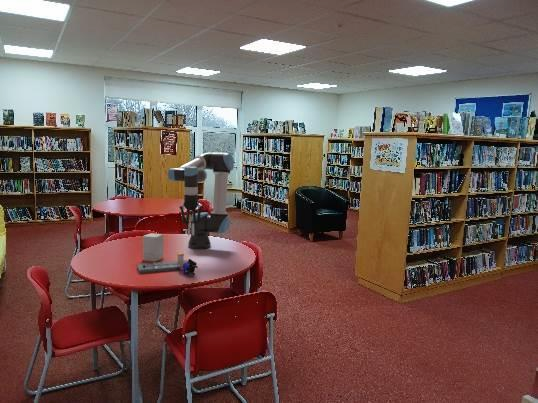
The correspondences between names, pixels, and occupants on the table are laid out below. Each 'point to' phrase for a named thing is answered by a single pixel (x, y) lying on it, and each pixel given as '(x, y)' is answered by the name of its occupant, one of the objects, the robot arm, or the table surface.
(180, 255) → the block
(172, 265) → the panel
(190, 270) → the character figurine
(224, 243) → the table surface
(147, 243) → the supplement box
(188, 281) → the table surface
